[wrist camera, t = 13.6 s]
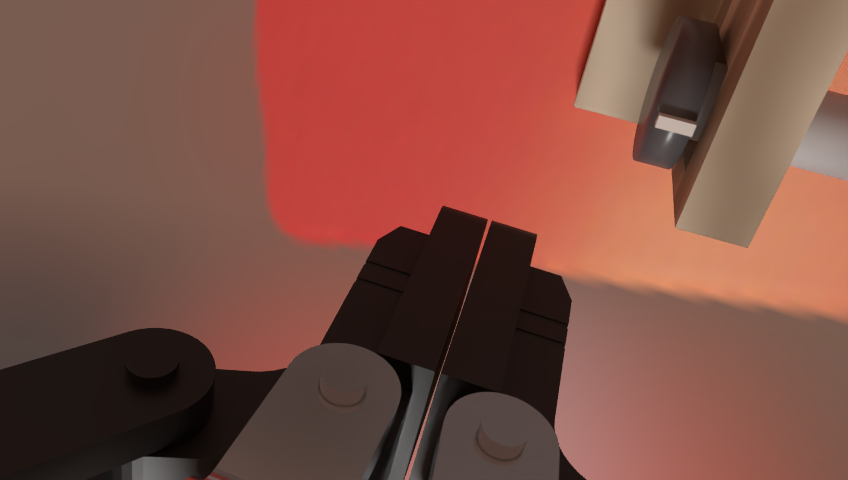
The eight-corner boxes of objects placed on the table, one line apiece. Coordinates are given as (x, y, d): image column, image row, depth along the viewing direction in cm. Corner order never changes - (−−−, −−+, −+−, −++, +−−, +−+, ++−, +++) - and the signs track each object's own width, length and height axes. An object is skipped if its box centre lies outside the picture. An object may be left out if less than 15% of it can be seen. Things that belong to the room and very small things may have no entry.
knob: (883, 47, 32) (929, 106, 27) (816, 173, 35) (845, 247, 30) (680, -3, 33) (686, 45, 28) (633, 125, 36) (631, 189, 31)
